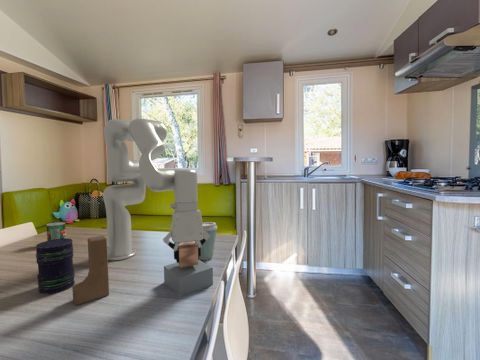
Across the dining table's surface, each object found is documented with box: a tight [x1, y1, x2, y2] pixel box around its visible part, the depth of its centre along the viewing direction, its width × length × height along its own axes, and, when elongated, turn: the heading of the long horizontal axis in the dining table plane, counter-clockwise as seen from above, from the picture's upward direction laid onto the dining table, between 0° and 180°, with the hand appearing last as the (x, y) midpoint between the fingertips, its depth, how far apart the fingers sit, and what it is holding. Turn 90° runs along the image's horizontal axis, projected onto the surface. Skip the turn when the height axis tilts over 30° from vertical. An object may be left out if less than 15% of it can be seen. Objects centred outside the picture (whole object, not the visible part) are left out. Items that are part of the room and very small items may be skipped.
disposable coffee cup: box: [194, 221, 218, 261], centre depth 107 cm, size 11×11×15 cm
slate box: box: [163, 259, 214, 297], centre depth 84 cm, size 12×12×6 cm
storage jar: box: [35, 238, 76, 295], centre depth 82 cm, size 10×10×15 cm
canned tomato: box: [45, 221, 67, 241], centre depth 127 cm, size 8×8×11 cm
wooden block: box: [71, 235, 110, 306], centre depth 75 cm, size 9×4×18 cm, turn 130°
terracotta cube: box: [178, 241, 198, 267], centre depth 83 cm, size 6×6×6 cm
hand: (187, 259), depth 84 cm, fingers closed on terracotta cube, 6 cm apart
